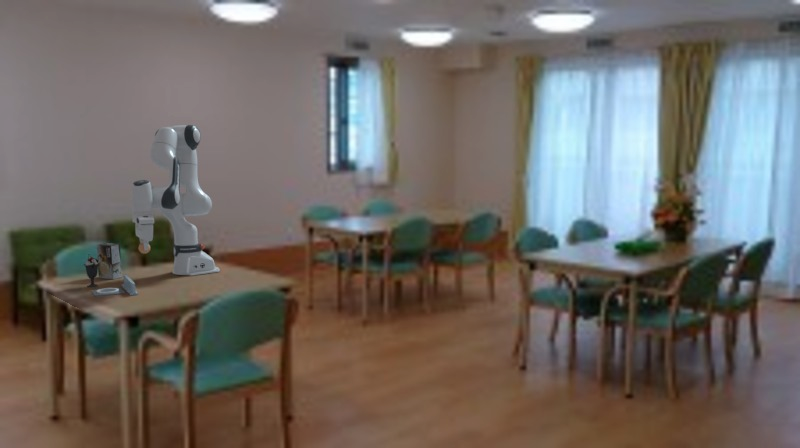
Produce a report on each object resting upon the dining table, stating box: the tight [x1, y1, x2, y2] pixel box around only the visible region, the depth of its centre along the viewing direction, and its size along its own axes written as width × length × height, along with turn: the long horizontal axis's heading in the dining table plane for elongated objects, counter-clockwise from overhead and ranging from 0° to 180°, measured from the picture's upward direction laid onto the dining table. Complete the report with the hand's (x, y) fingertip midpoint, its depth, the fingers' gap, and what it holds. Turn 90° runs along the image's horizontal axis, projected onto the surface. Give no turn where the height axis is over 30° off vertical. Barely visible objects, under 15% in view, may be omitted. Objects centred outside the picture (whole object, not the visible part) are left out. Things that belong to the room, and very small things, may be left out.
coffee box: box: [96, 242, 123, 280], centre depth 361 cm, size 9×6×16 cm
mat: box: [90, 287, 126, 297], centre depth 330 cm, size 12×12×1 cm
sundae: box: [83, 254, 99, 288], centre depth 342 cm, size 7×7×15 cm
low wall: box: [121, 274, 139, 296], centre depth 334 cm, size 3×22×5 cm, turn 29°
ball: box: [138, 242, 151, 255], centre depth 336 cm, size 5×5×5 cm
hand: (144, 248), depth 336 cm, fingers closed on ball, 5 cm apart
